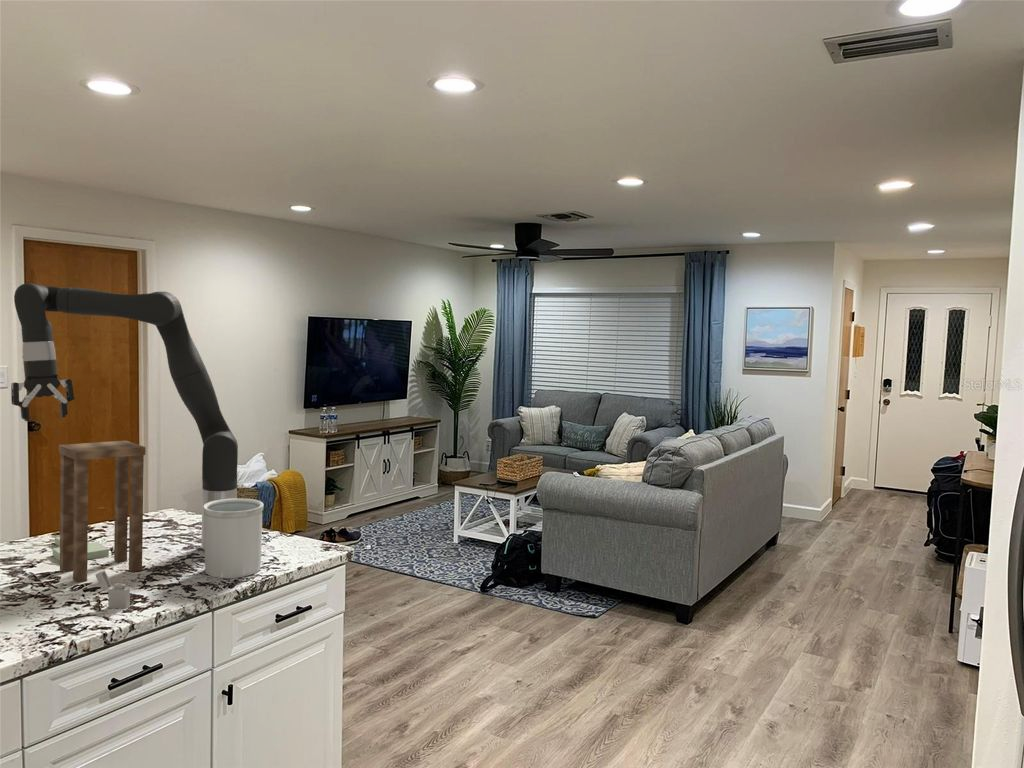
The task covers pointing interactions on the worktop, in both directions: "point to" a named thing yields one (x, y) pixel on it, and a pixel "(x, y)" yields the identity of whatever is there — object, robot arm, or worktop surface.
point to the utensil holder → (232, 537)
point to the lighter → (114, 592)
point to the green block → (92, 552)
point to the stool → (77, 503)
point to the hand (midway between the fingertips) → (45, 419)
